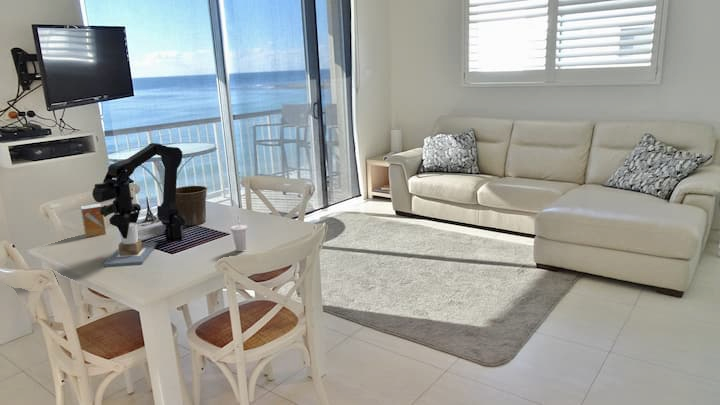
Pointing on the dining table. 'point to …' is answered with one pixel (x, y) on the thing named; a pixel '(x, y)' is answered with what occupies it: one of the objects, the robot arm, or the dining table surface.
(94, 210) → the small box
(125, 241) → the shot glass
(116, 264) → the board
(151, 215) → the eiffel tower figurine
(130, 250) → the walnut block
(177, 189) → the plant pot
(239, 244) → the smoothie
